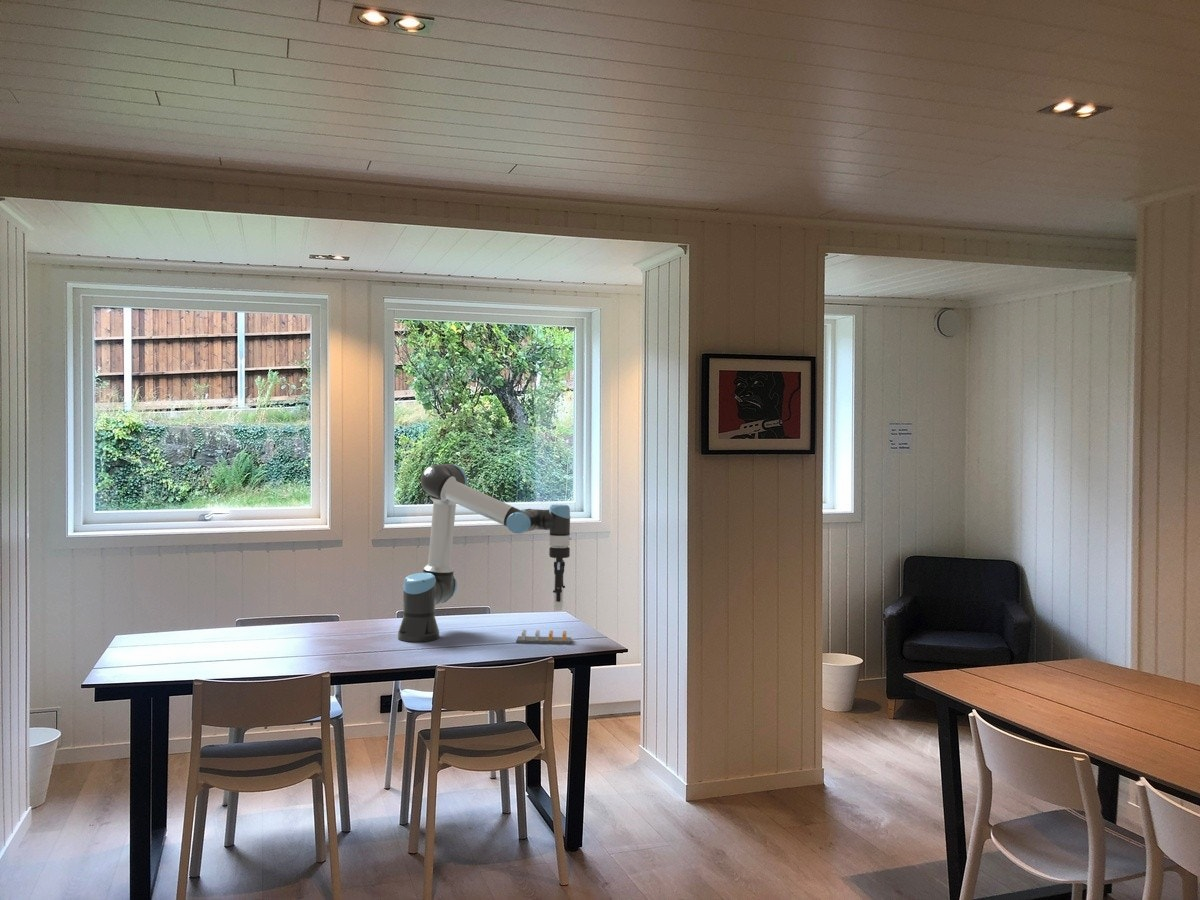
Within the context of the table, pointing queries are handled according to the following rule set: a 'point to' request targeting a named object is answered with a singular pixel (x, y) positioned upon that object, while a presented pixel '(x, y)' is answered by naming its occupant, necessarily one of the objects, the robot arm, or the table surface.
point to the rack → (544, 638)
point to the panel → (562, 598)
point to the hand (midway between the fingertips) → (558, 607)
